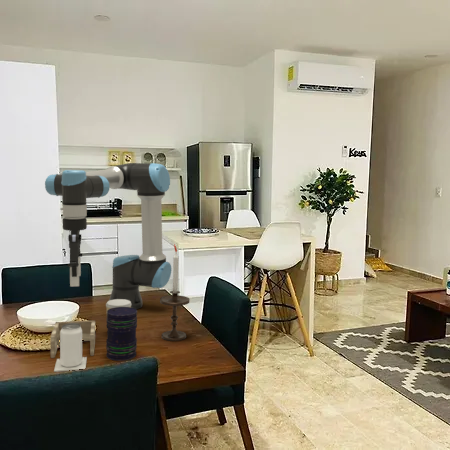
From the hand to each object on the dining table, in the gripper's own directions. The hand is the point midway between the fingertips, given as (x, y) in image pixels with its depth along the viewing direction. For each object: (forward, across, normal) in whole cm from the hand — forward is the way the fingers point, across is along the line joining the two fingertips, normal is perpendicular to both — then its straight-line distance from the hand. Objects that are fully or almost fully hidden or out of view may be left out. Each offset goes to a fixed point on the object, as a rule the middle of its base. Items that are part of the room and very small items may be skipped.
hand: (75, 280), depth 152 cm
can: (+23, +13, -1) cm, 27 cm away
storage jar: (+24, +8, +14) cm, 29 cm away
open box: (+24, -1, -1) cm, 24 cm away
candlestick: (+25, -6, +34) cm, 43 cm away
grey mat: (+23, +13, -1) cm, 27 cm away
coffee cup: (+24, -13, +14) cm, 31 cm away
